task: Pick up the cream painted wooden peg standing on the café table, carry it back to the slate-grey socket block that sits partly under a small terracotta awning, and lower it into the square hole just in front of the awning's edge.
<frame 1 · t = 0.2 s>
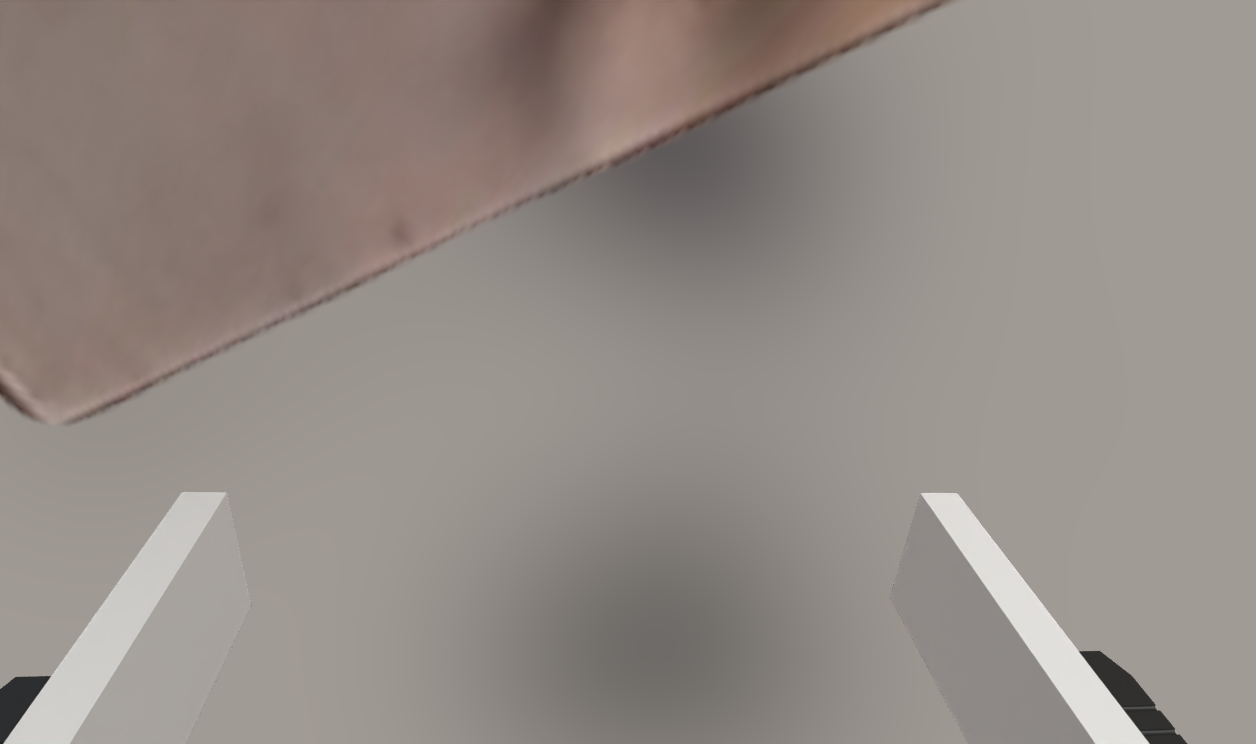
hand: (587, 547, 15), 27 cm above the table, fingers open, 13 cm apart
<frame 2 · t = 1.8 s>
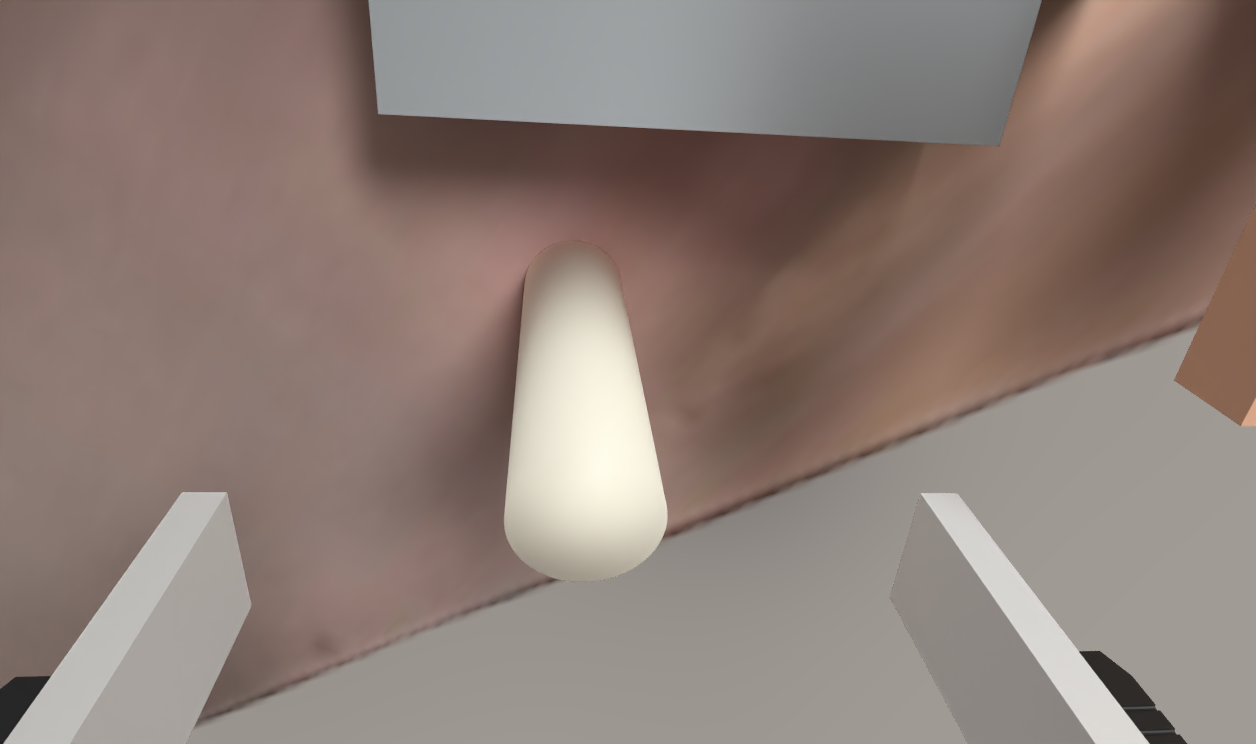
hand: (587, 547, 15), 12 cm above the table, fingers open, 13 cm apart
peg: (572, 286, 25), on the table
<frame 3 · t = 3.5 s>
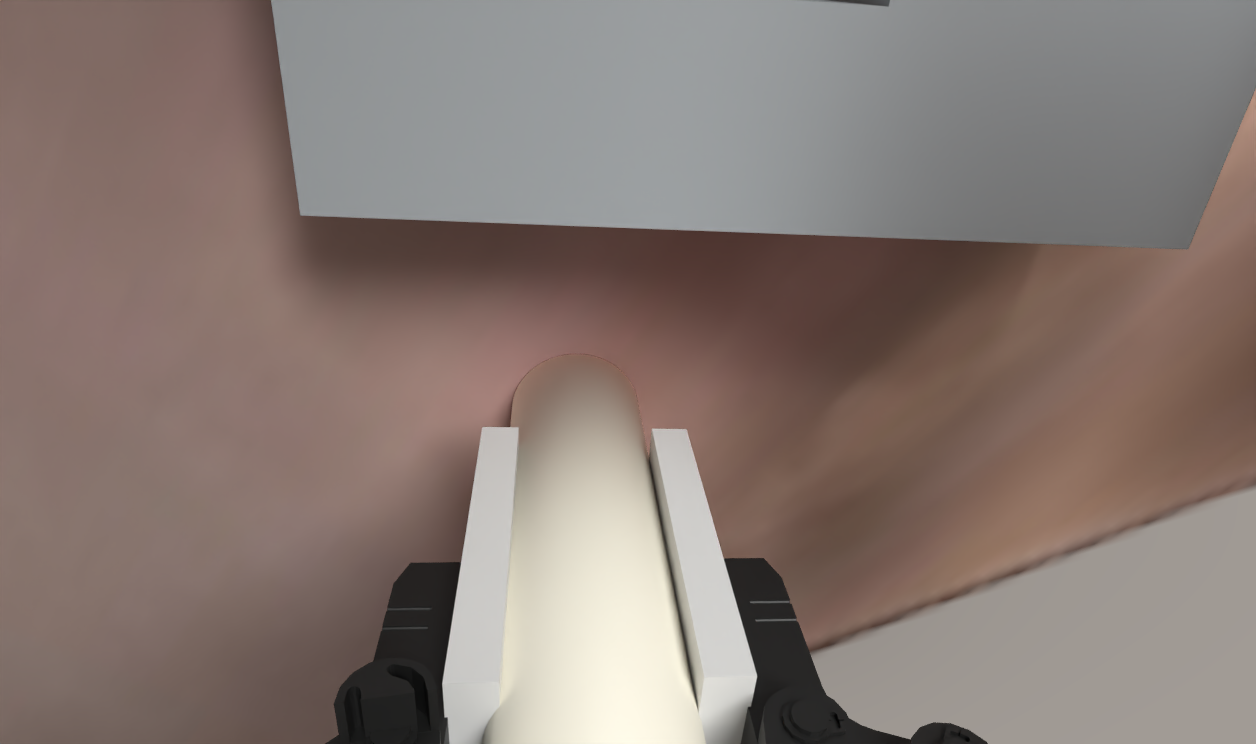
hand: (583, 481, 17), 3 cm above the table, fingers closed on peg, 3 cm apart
peg: (575, 410, 19), on the table, touching gripper
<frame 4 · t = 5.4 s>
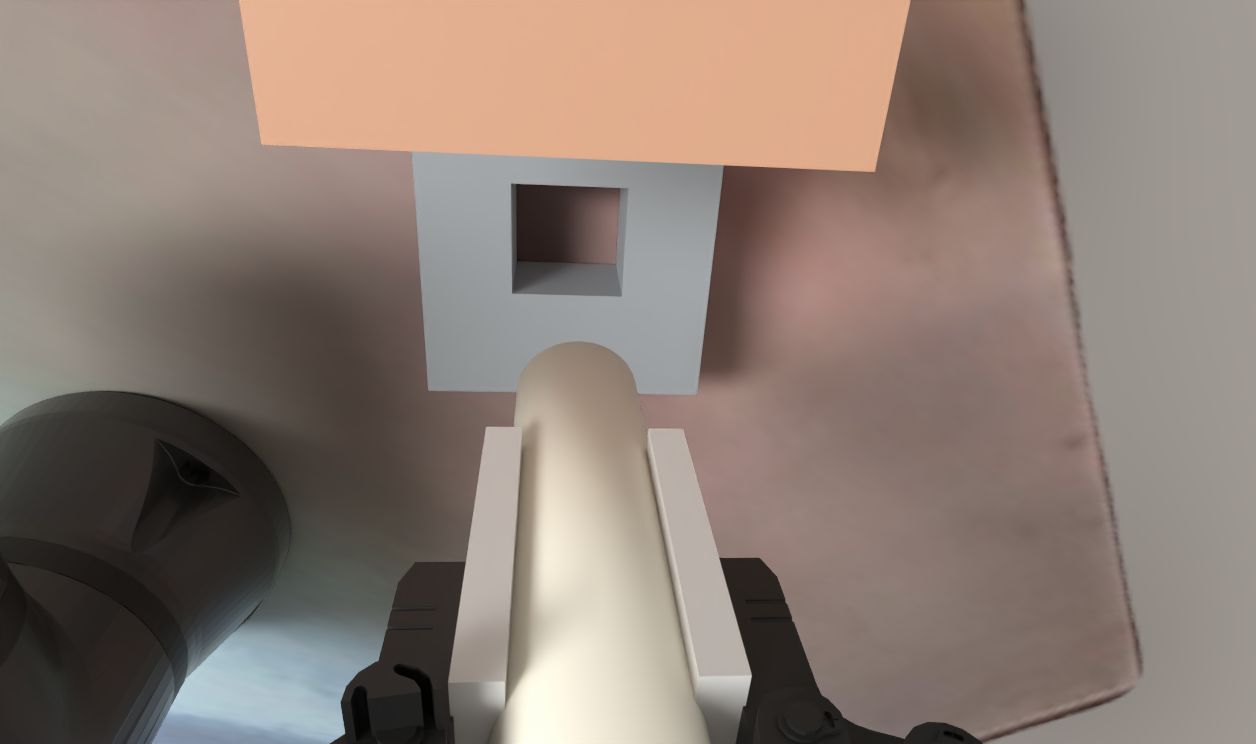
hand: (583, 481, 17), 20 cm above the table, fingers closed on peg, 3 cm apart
socket block: (568, 192, 34), on the table
peg: (577, 395, 20), point 16 cm above the table, touching gripper
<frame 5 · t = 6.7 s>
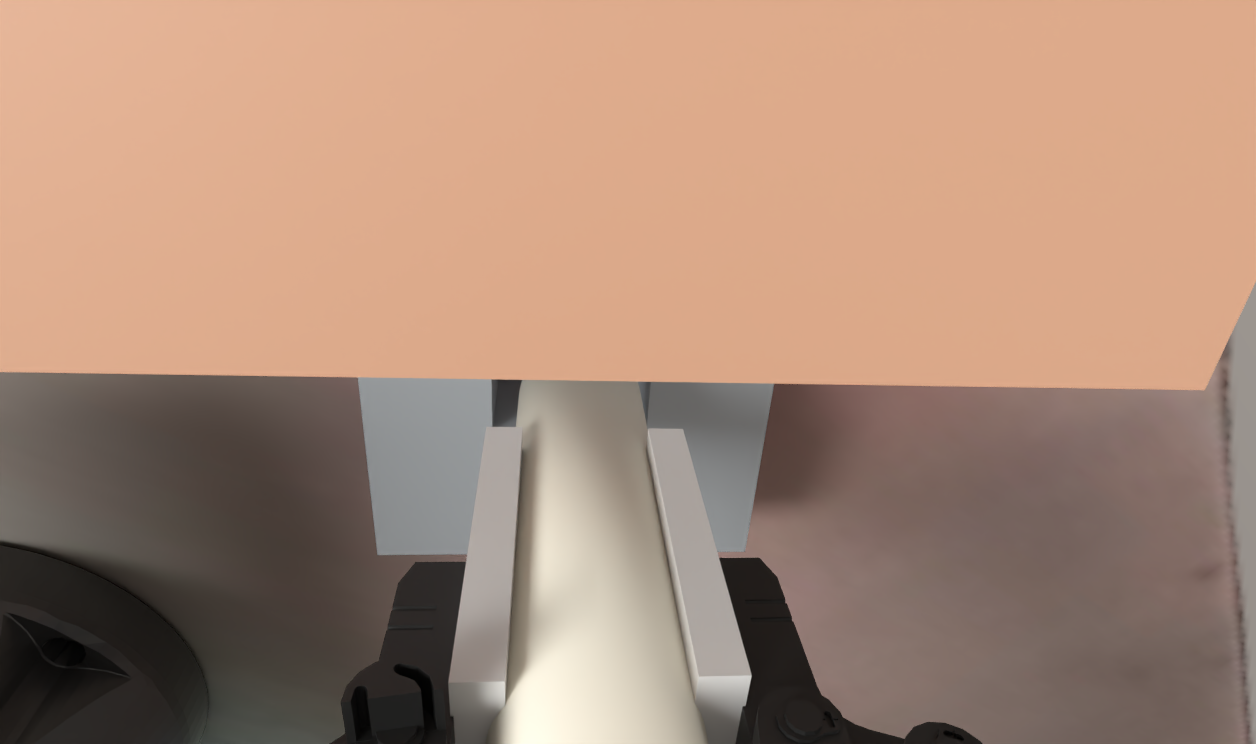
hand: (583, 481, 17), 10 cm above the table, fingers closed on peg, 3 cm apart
socket block: (570, 279, 25), on the table
peg: (579, 398, 20), point 6 cm above the table, touching gripper
when the fingers open (5 cm above the table, at t = 7.8 s): peg drops 1 cm, resting in socket block.
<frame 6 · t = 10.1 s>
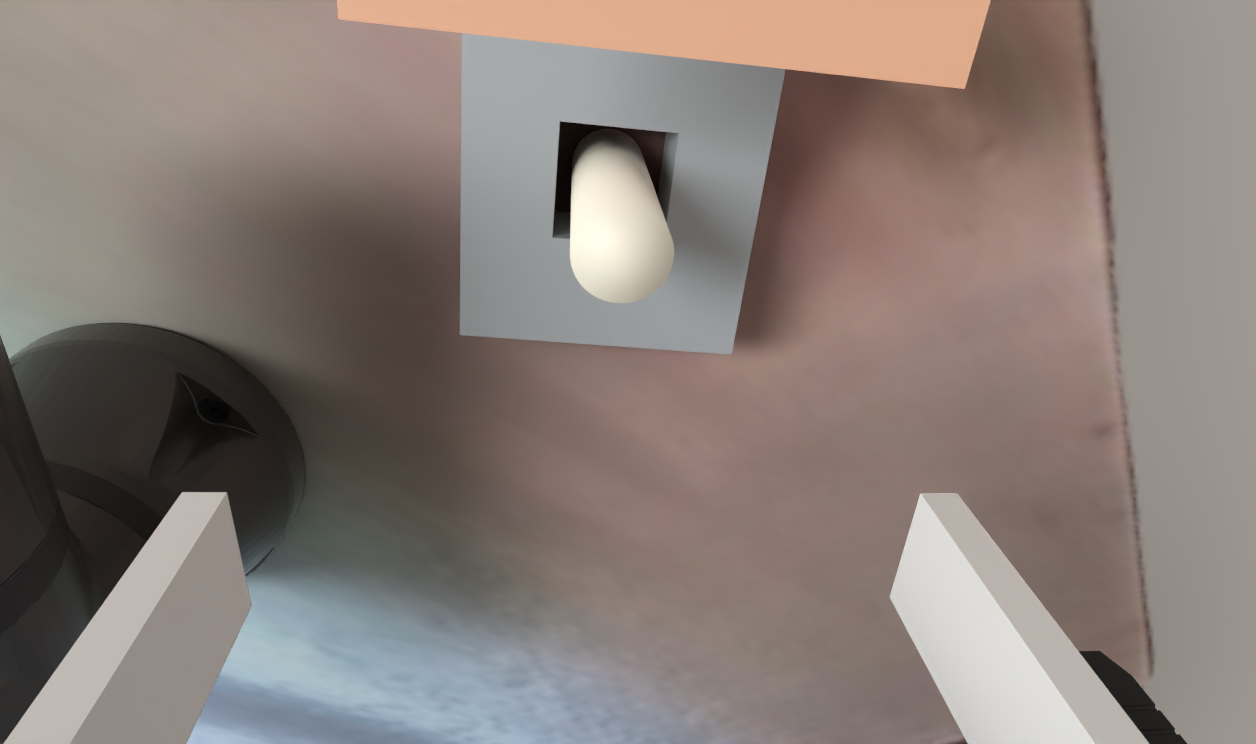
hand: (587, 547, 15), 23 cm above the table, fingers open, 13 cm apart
socket block: (612, 141, 34), on the table
peg: (607, 165, 34), resting in socket block
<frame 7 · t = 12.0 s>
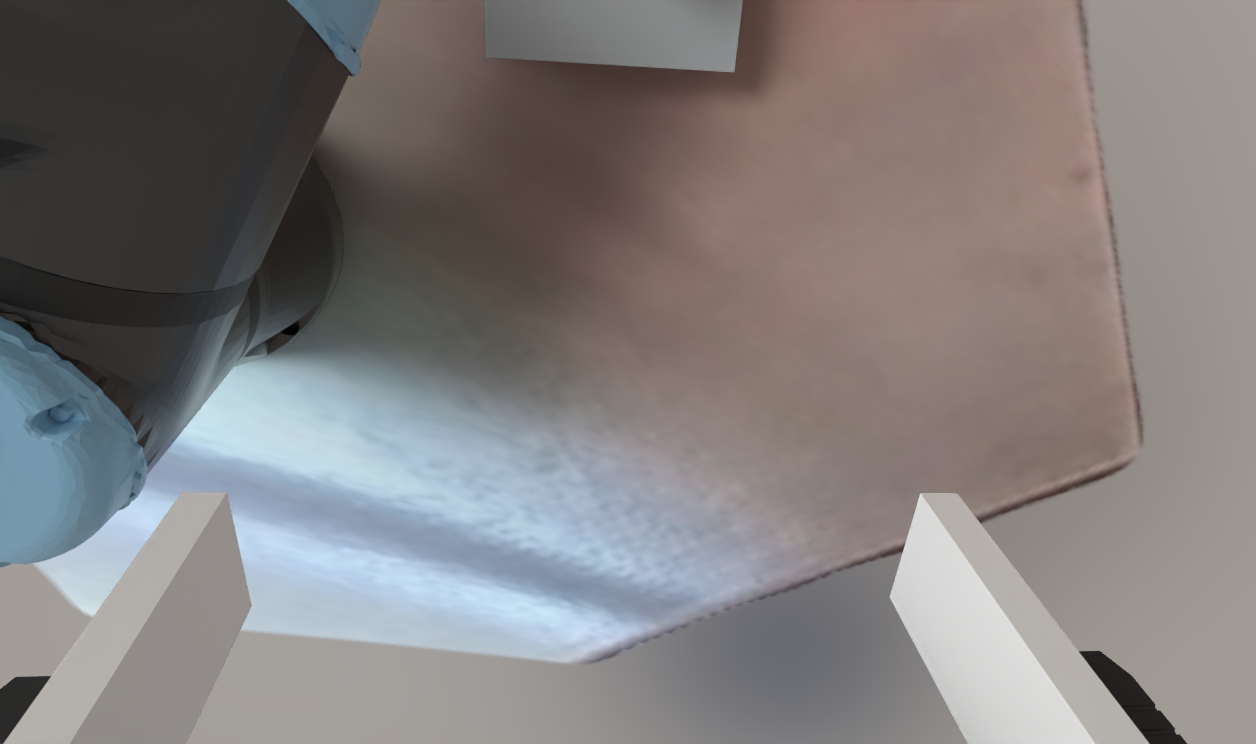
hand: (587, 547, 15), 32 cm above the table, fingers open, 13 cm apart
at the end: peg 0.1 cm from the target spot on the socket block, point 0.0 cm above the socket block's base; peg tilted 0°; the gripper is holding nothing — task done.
